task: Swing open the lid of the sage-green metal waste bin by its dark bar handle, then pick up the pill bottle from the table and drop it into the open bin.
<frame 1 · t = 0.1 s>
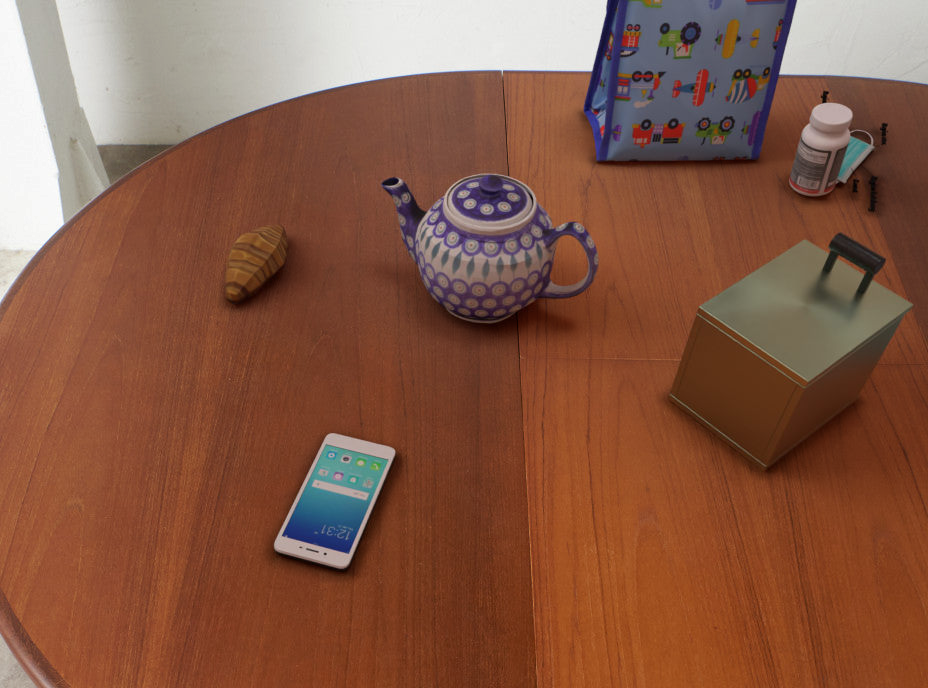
pill bottle: (810, 186, 121), on the table, touching surgical mask
lunch bag: (666, 138, 128), on the table
teapot: (481, 294, 108), on the table
waste bin: (762, 399, 99), on the table
bin lid: (812, 292, 88), point 14 cm above the table, hinge at 0.0°
surgical mask: (843, 162, 125), on the table, touching pill bottle
smartphone: (337, 502, 90), on the table
croissant: (259, 273, 110), on the table
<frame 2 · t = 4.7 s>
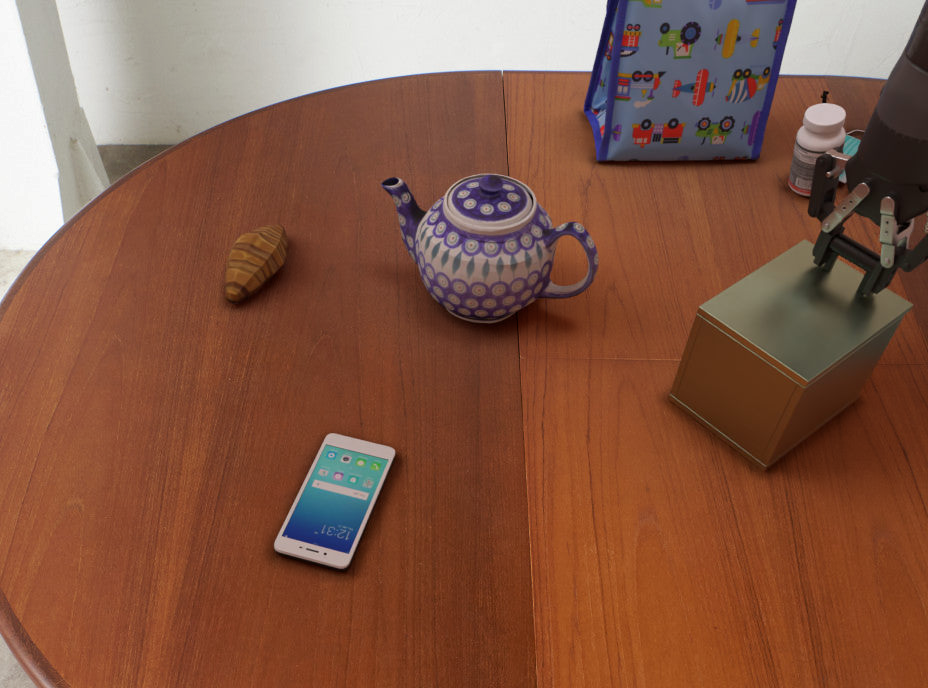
hand: (845, 275, 91), 13 cm above the table, tool pointing down, fingers closed on bin lid, 5 cm apart
pill bottle: (810, 186, 121), on the table, touching surgical mask
bin lid: (812, 292, 88), point 14 cm above the table, hinge at 0.0°, touching gripper
everything else where it was.
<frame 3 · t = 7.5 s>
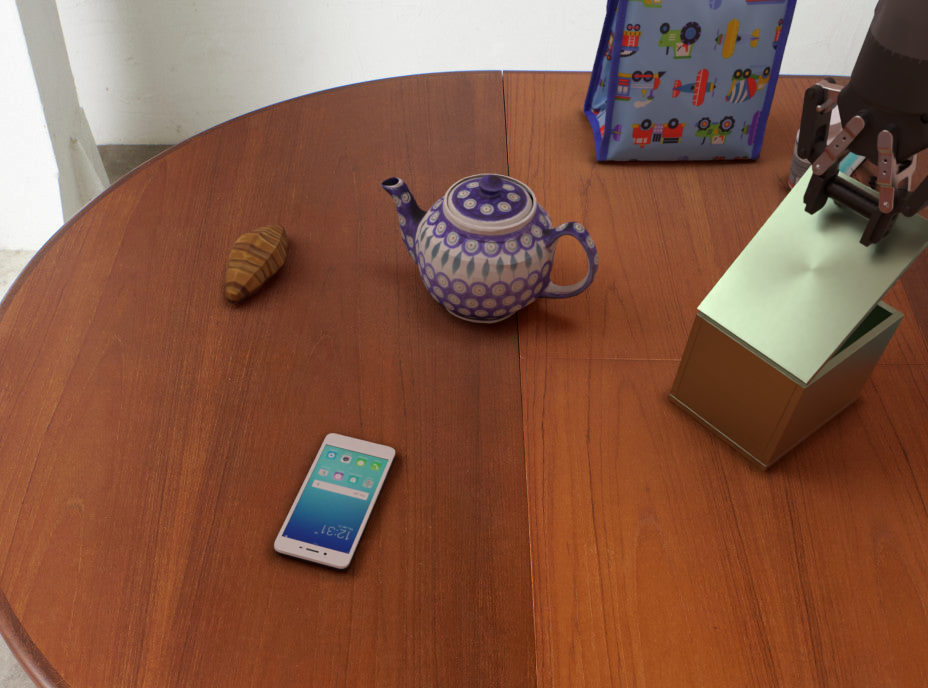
hand: (841, 224, 81), 22 cm above the table, tool pointing down, fingers closed on bin lid, 5 cm apart
bin lid: (808, 263, 82), point 19 cm above the table, hinge at 41.9°, touching gripper
everything else where it was.
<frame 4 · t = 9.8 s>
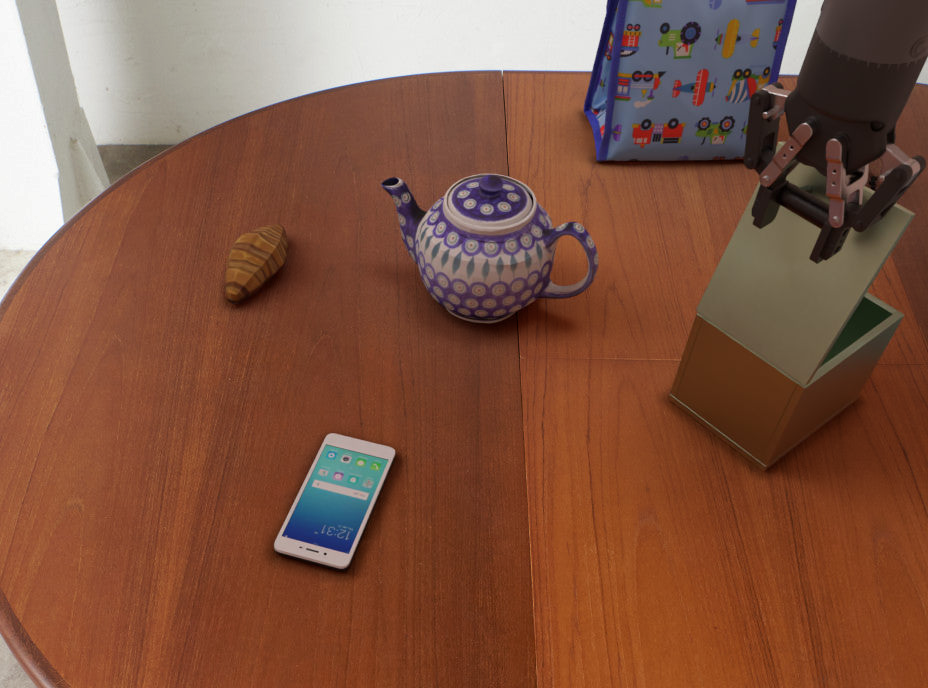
hand: (790, 239, 76), 24 cm above the table, tool pointing down, fingers closed on bin lid, 5 cm apart
bin lid: (782, 271, 79), point 21 cm above the table, hinge at 74.4°, touching gripper
everything else where it was.
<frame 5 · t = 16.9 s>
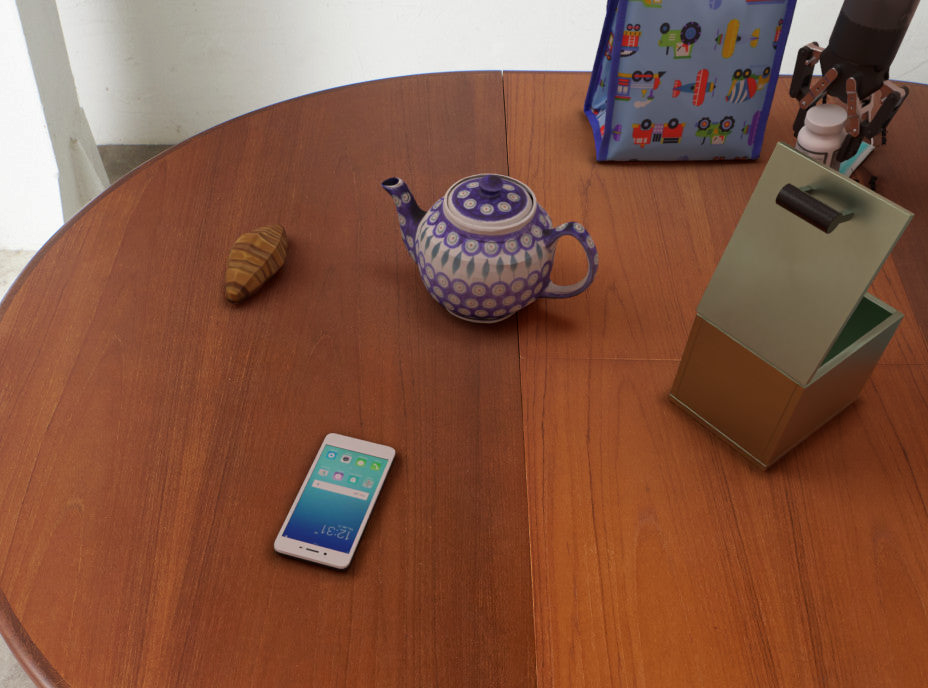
hand: (821, 146, 117), 6 cm above the table, tool pointing down, fingers closed on pill bottle, 6 cm apart
pill bottle: (810, 186, 121), on the table, touching gripper, surgical mask
bin lid: (781, 271, 79), point 21 cm above the table, hinge at 75.0°
everything else where it was.
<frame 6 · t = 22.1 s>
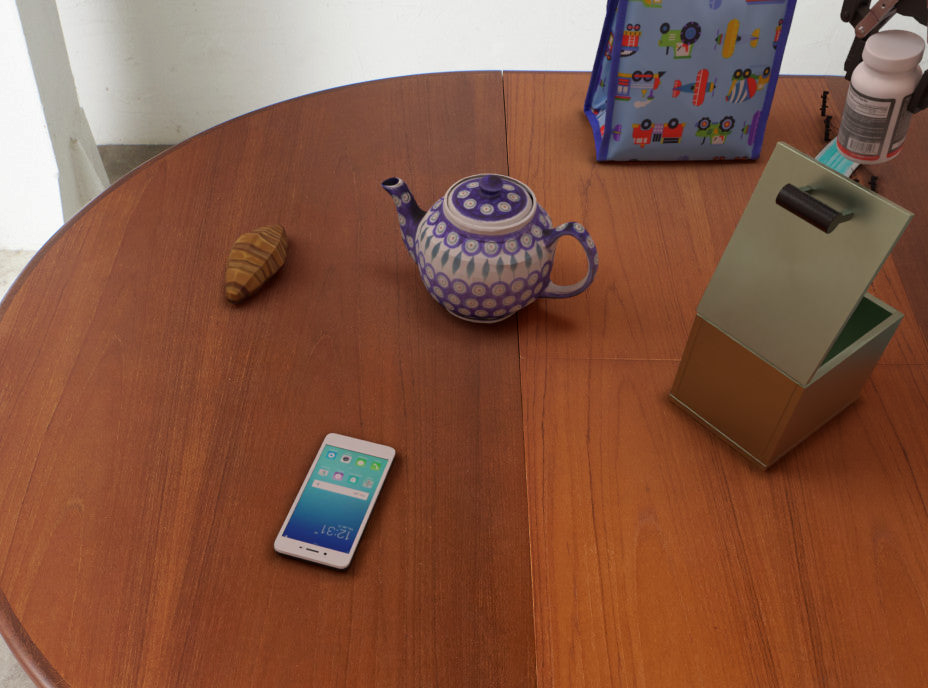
hand: (884, 93, 83), 28 cm above the table, tool pointing down, fingers closed on pill bottle, 6 cm apart
pill bottle: (867, 150, 87), point 22 cm above the table, touching gripper
surgical mask: (844, 162, 125), on the table
everything else where it was.
when the fingers open (10 cm above the table, at t = 27.5 s): pill bottle drops 4 cm, resting on waste bin.
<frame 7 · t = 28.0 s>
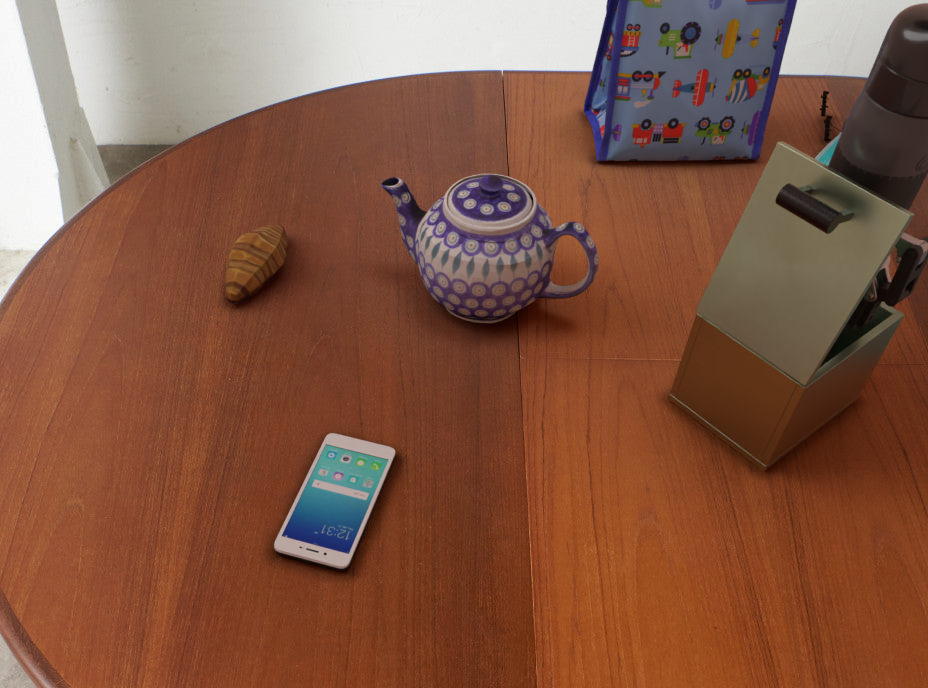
hand: (816, 300, 90), 12 cm above the table, tool pointing down, fingers open, 8 cm apart
pill bottle: (778, 384, 99), point 1 cm above the table, touching waste bin
everything else where it was.
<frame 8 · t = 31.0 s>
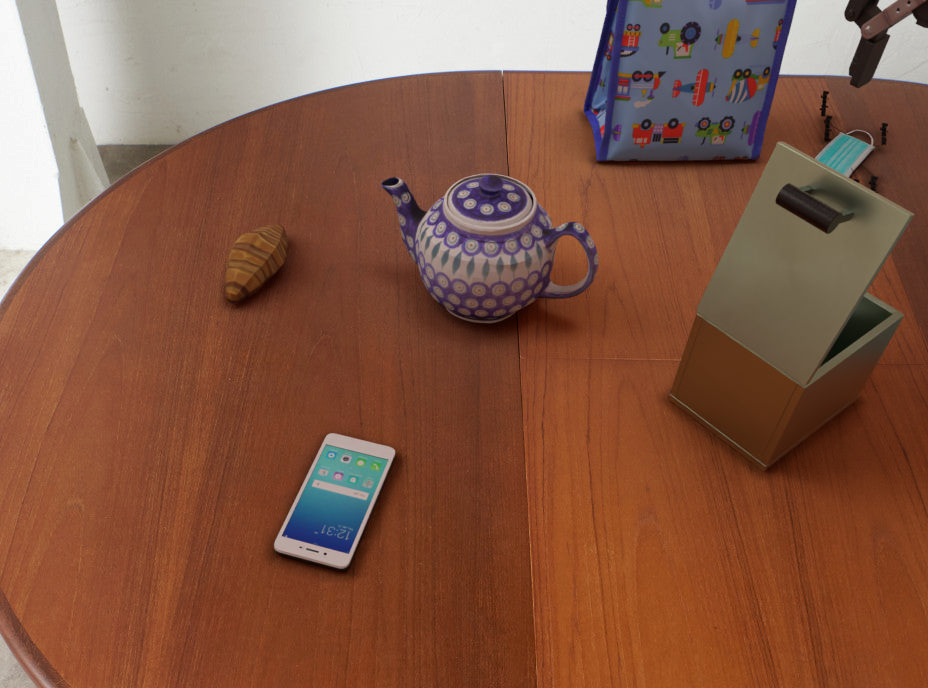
hand: (905, 106, 74), 32 cm above the table, tool pointing down, fingers open, 8 cm apart
nothing on the table moved.
at the end: bin lid at +75° (first picture: +0°); pill bottle inside the target area in the waste bin (2.5 cm from its centre), point 0.6 cm above the waste bin's base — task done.
